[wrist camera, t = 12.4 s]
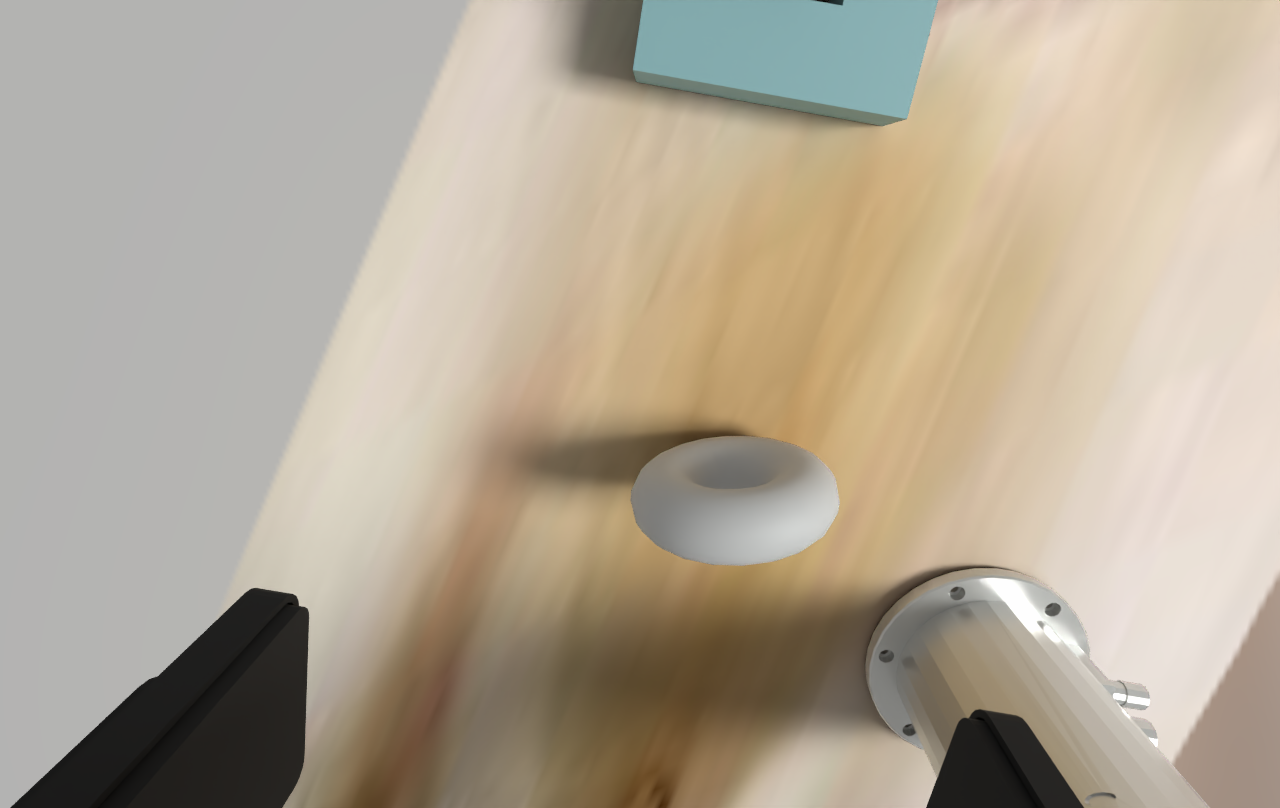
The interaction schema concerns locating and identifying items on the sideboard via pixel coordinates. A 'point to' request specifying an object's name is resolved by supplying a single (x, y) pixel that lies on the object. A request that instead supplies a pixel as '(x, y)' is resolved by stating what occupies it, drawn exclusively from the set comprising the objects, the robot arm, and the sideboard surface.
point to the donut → (735, 500)
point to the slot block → (790, 53)
